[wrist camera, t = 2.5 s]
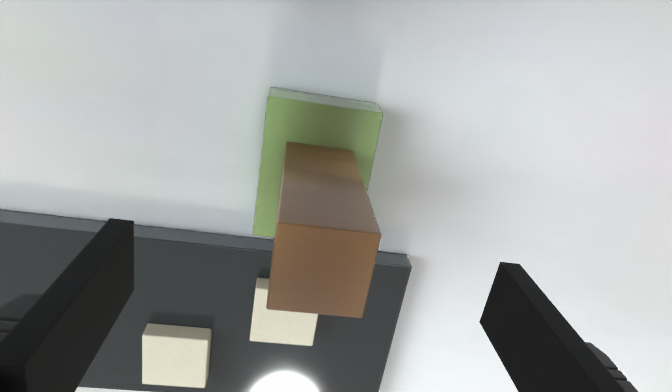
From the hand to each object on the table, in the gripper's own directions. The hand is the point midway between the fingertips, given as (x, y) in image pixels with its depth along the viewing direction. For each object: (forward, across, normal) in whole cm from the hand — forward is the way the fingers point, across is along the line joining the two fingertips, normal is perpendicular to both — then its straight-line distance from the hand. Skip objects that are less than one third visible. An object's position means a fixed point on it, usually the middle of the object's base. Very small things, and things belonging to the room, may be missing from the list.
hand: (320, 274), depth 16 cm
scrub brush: (+12, 0, 0) cm, 12 cm away
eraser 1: (+10, -7, -13) cm, 18 cm away
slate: (+12, -6, -11) cm, 17 cm away
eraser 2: (+10, 0, -9) cm, 14 cm away
